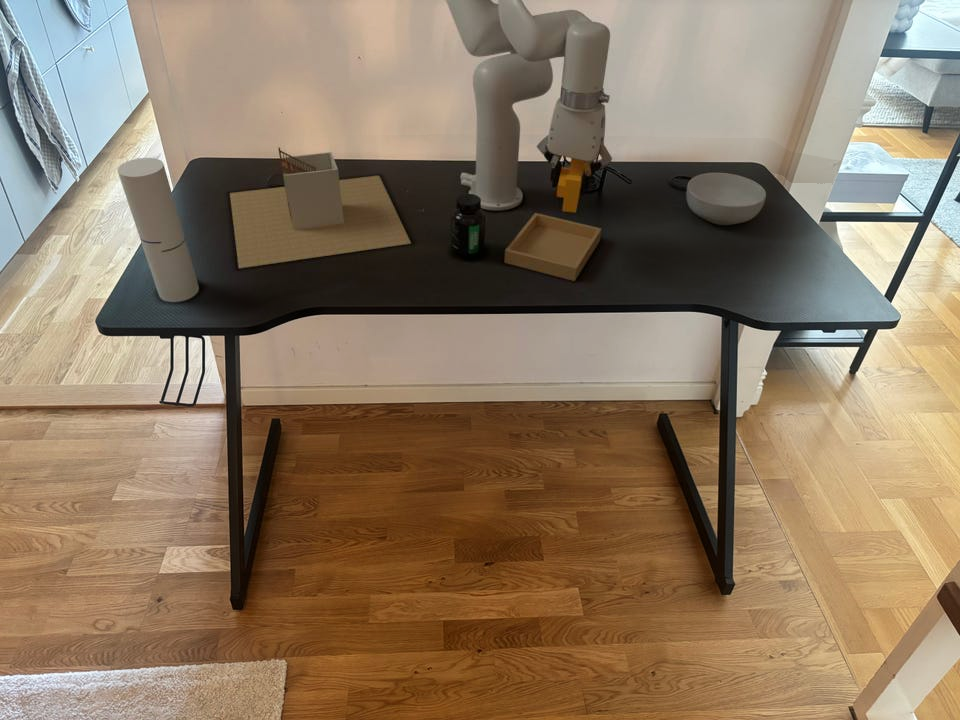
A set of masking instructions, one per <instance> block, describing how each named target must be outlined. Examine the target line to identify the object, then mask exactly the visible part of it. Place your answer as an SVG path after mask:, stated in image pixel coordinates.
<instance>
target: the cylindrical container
mask: <svg viewBox="0 0 960 720" xmlns="http://www.w3.org/2000/svg"><path fill="white" fill-rule="evenodd" d="M117 175H118V177H119V180H120V183H121V185H122V189H123V192H124V195H125V197H126V201H127V204H128V207H129V210H130V213H131V216H132V219H133V222H134V225H135V228H136V230H137V235H138V237H139V240H140V242H141V245H142V249H143V252H144V254H145V258H146V261H147V264H148V267H149V270H150V273H151V276H152V279H153V282H154V285H155V288H156V290H157V293H158V297H159V299H161V300H163V301H164V302H168V303H180V302H184V301H187V300H190V299H192V298H193V297H195V296H196V295H197V294H198V293H199V289H200V288H199V287H200V286H199V283H198V279H197V276H196V273H195V269H194V265H193V262H192V258H191V255H190V251H189V247H188V245H187V241H186V238H185V234H184V230H183V227H182V224H181V220H180V217H179V213H178V209H177V205H176V202H175V199H174V195H173V191H172V188H171V185H170V182H169V178H168V175H167V171H166V167H165V165H164V162H163V160H161V159H158V158H155V157H138V158H133V159H130V160H127V161H125V162H123V163H121V164H119V166H118V167H117Z"/></svg>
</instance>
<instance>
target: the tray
mask: <svg viewBox="0 0 960 720" xmlns="http://www.w3.org/2000/svg"><path fill="white" fill-rule="evenodd" d="M602 229H603V228H601V227H598V226H597V227H596V226H593V225H590V224H589V225H588V224H584V223H580V222H576V221H571V220H567V219H563V218H559V217H555V216H550V215H547V214H546V215H545V214H542V213H537V212H534V214H533V215H532V216H531V218H529V220H528V221H527V222H526V224H525V225H524V226H522V228H521V229H520V231H518V234H517V235H516V236H515V237H514V239H513V240H512V241H510V243H509V245H508V246H507V247H506V248H505V250H504V264H507V265H512V266H516V267H519V268H523V269H527V270H530V271H534V272H538V273H541V274H546V275H548V276H549V275H550V276H554V277H557V278H560V279H561V278H562V279H565V280H569V281H573V282H576V281H577V279H578V277H579V275H580V274H581V273H582V270H583V269H584V267H585V265H586V264H587V262H588V260H589V259H590V258H591V256H592V254H593V253H594V252H595V249H596V248H597V246H598V244H599V243H600V241H601V236H602Z"/></svg>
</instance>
